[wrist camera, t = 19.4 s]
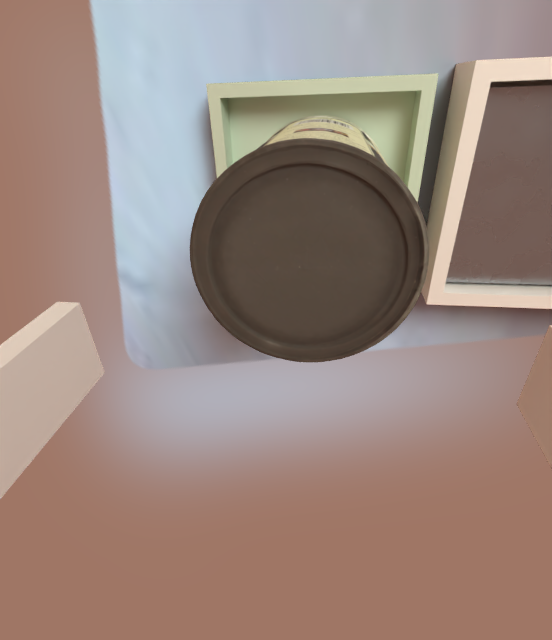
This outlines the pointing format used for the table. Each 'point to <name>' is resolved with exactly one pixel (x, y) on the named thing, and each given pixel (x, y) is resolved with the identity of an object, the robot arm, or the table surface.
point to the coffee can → (310, 244)
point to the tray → (333, 100)
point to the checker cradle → (454, 177)
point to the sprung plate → (509, 193)
